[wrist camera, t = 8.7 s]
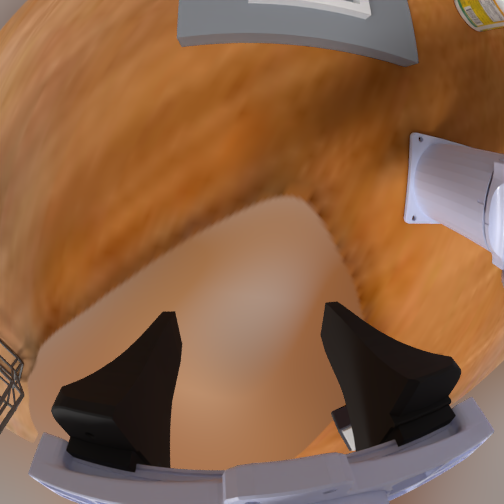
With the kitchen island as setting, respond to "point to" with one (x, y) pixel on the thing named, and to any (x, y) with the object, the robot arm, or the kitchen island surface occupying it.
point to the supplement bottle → (482, 13)
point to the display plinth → (304, 25)
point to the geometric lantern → (11, 385)
